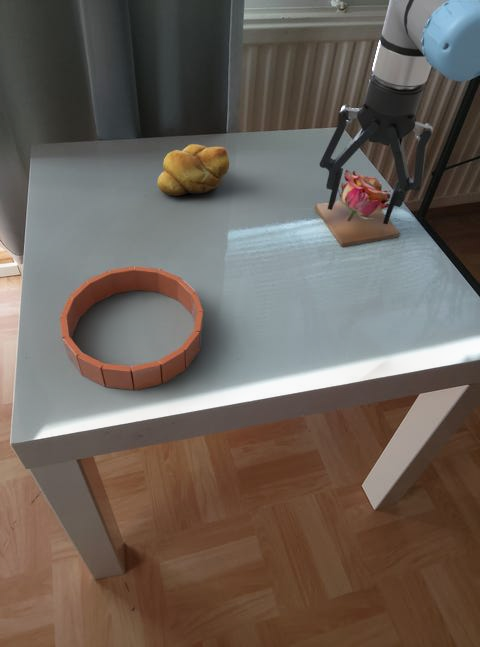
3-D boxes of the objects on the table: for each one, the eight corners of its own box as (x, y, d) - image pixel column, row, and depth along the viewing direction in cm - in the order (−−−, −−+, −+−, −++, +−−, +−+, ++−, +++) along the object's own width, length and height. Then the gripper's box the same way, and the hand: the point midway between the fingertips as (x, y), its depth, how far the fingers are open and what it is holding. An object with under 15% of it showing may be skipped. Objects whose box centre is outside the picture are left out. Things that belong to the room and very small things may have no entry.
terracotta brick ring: (228, 343, 68) (230, 324, 65) (112, 414, 60) (107, 396, 57) (153, 270, 77) (152, 250, 74) (42, 323, 68) (35, 303, 65)
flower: (368, 235, 80) (398, 190, 77) (320, 205, 81) (347, 160, 79) (371, 233, 89) (398, 193, 87) (328, 206, 90) (353, 166, 88)
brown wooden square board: (398, 237, 86) (400, 233, 85) (341, 247, 83) (342, 243, 83) (368, 199, 93) (369, 196, 92) (314, 208, 90) (315, 204, 89)
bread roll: (166, 207, 87) (164, 166, 81) (147, 177, 93) (144, 137, 87) (233, 192, 92) (235, 152, 86) (211, 164, 97) (212, 125, 91)
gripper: (479, 84, 70) (424, 216, 87) (328, 52, 74) (303, 185, 91) (477, 107, 65) (419, 242, 82) (316, 72, 69) (292, 208, 86)
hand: (358, 212), depth 86 cm, fingers closed on flower, 9 cm apart
